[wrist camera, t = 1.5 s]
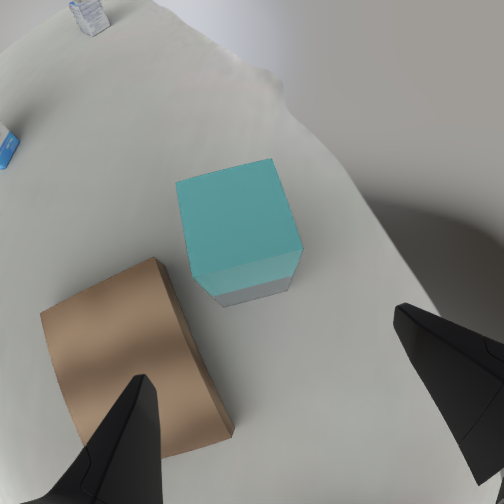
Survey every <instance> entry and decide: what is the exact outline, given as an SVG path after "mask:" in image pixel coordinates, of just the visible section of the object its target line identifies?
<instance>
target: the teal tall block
mask: <svg viewBox="0 0 504 504" xmlns="http://www.w3.org/2000/svg"><path fill="white" fill-rule="evenodd" d="M176 189H177V195H178V201H179V207H180V213H181V219H182V225H183V230H184V236H185V241H186V247H187V252H188V257H189V262H190V267H191V272H192V277H193V278H194V279H195V280H196V281H197V282H198V283H199V284H200V285H201V286H202V287H203V288H204V289H205V290H206V291H207V292H208V293H209V294H210V295H211V296H212V297H213V298H214V299H215V300H216V301H217V302H218V303H219V304H220V305H221V306H222V307H227V306H231V305H235V304H239V303H243V302H247V301H251V300H254V299H258V298H262V297H266V296H269V295H273V294H277V293H281V292H284V291H287V290H288V287H289V285H290V282H291V280H292V277H293V275H294V272H295V270H296V267H297V264H298V262H299V259H300V257H301V254H302V251H303V246H302V243H301V240H300V237H299V234H298V231H297V228H296V225H295V222H294V219H293V216H292V213H291V210H290V207H289V204H288V201H287V199H286V196H285V193H284V190H283V187H282V185H281V182H280V179H279V176H278V173H277V171H276V168H275V165H274V163H273V160H272V158H271V159H266V160H262V161H257V162H253V163H248V164H244V165H240V166H236V167H232V168H228V169H224V170H220V171H216V172H212V173H208V174H205V175H201V176H197V177H193V178H190V179H186V180H183V181H179V182H176Z"/></svg>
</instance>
